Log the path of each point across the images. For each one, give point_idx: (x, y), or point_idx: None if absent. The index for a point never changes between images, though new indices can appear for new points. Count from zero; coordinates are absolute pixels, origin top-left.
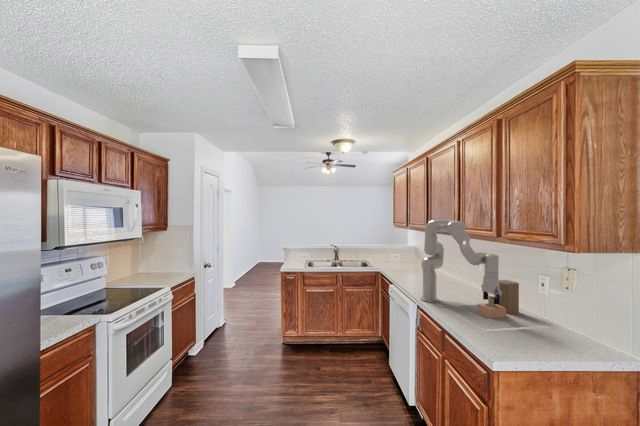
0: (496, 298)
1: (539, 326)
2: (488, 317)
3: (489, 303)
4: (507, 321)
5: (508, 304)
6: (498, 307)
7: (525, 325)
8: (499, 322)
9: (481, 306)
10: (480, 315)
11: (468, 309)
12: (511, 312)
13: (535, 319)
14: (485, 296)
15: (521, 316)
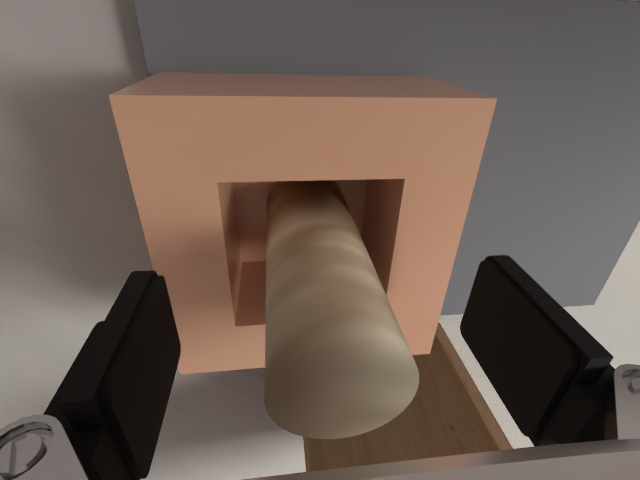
0: (50, 419)
1: (13, 409)
2: (180, 72)
3: (303, 243)
4: (120, 250)
5: (305, 450)
6: (215, 307)
7: (13, 335)
8: (65, 138)
9: (367, 92)
10: (287, 9)
11: (568, 14)
12: None
13: (191, 452)
14: (509, 327)
15: (262, 412)
